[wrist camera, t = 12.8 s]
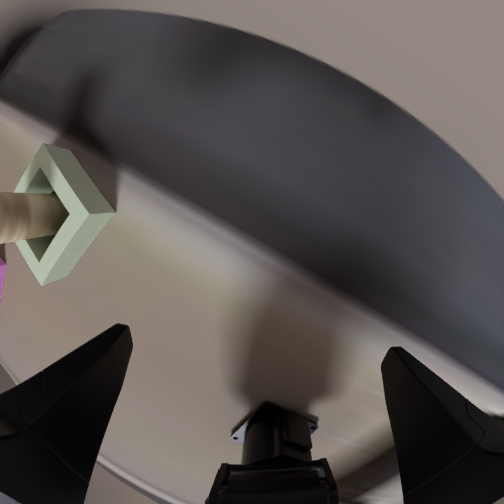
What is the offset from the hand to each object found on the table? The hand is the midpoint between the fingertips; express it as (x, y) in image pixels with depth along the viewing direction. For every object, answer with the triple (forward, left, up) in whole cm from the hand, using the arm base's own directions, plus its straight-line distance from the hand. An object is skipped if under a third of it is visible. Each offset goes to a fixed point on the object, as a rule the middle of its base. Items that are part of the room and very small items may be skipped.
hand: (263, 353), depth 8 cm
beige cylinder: (-6, +18, -13) cm, 23 cm away
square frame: (-6, +18, -13) cm, 23 cm away
